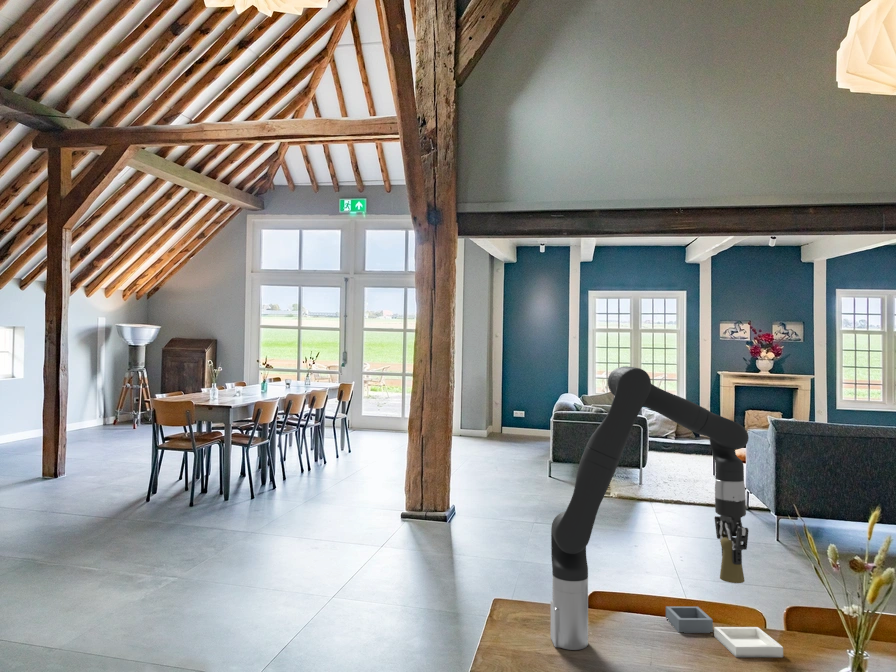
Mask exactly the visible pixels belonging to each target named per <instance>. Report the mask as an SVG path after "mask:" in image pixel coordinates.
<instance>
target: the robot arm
mask: <svg viewBox="0 0 896 672" xmlns="http://www.w3.org/2000/svg"><path fill="white" fill-rule="evenodd" d="M607 386H608V389H609V392H610V393H611V394H612V395H613V396H614V397H613V400H612V403H611V406H610V409H609V410H608V413H607V415H606V416H605V417H604V419H603V420H602V421H601V423H600V424H599V425H598V426H597V428H596V429H595V431H594V432H593V433H592V434H591V436H590V437H589V439H588V441H587V443H586V445H585V447H584V450H583V453H582V456H581V458H580V461H579V465H578V467H577V472H576V478H575V483H574V487H573V488H574V489H573V493H572V495H571V499H570V502H569V503H568V506H567V508H566V509H565V511H563V512H560V513H558V514H557V515H555V517H554V519H553V520H552V523H551V529H550V530H551V531H550V532H551V533H550V534H551V535H550V536H551V537H550V538H551V539H550V541H551V545H550V546H551V548H550V549H551V551H550V552H551V553H550V554H551V567H552V577H551V579H552V585H551V586H552V587H551V588H552V598H551V599H552V600H551V601H550V639H551V641H552V644H553V646H554V647H555V648H560V649H563V650H568V651H569V650H570V651H578V650H583V649H586V648H587V646H589V566H588V559H587V546H588V544H589V542H590V539H591V536H592V532H593V527H594V525H595V522H596V521H595V520H596V518H597V515H598V511H599V508H600V506H601V503H602V501H603V499H604V497H605V496H606V493H607V490H608V489H609V488H610V487H609V486H610V484H611V482H612V479H613V478H614V475H615V473H616V470H617V468H618V465H619V462H620V460H621V458H622V455H623V453H624V449H625V447H626V444H627V442H628V439H629V437H630V434H631V432H632V429H633V426H634V424H635V422H636V421H637V420H636V419H638V416H639V414H640V412H641V411H642V408H643V407H645V408H648V409H650V410H651V411H654V412H656V413H658V414H659V415H662V416H663V417H666V418H667V419H669V420H670V421H672V422H674V423H676V424H678V425H680V426H681V427H683V428H685V429H688V430H689V431H691V432H693V433H695V434H698V435H700V436H704V437H708V438H709V444H710V448H711V451H712V457H713V459H714V463H715V464H714V465H715V468H714V471H715V473H714V474H715V482H714V510H715V511H714V512H715V513H716V514H717V515H719V516H717V515H716V516H714V524H715V532H716V539H717V540H719V542H720V543H721V539H722V538H723V537H728V539H729V541H731V544H732V549H733V550H732V563H733V564H735V565H741V564H742V565H743V555H742V554H743V553H742V551H744V550H747V549H748V540H749V528H748V527H744V526H743V523H742V518H743V517H745V516H746V514H747V507H746V505H747V501H746V497H747V496H746V486H745V471H744V470H745V468H744V462H743V460H742V459H740V458H739V457H738V456H737V452H736V450H740V449H743V448H744V447H746V446H747V444H748V442H749V438H750V437H749V433H748V431H747V429H746V428H745V426H743V425H741V424H740V423H738V422H736V421H734V420H731V419H730V418H726V417H724V416H721V415H719V414H717V413H713V412H711V411H710V410H709V409H707V408H705V407H702V406H701V405H698V404H697V403H695V402H692V401H691V400H688V399H687V398H685V397H684V398H683V397H681V396H679V395H676V394H673V393H671V392H669V391H666V390H664V389H662V388H660V387H658V386H656V385H654V384H653V383H652V380H651V377H650V375H649V374H648V372H647V371H646V370H644V369H642V368H640V367H635V366H627V365H626V366H619V367H616V368H615V369H613V370H612V371H611V372H610V374H609V375H608V377H607ZM735 541H736V545H735ZM722 554H723V548H722V547H721V555H722Z"/></svg>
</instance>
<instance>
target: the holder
mask: <svg viewBox="0 0 896 672" xmlns="http://www.w3.org/2000/svg"><path fill="white" fill-rule="evenodd" d="M666 618H668V620H669V622H670V623H671V624H672V625H673V626H674V627H675V628H674V627H673V626H672V625H671V624H670V623H669V622H668V623H669V624H670V625H671V626H672V627H673V628H674V629H675V630H676V631H677V633H679V632H684V633H683V634H693V633H694V634H698V633H699V634H702V633H703V634H711V633H710V632H713V633H714V622H713V621H714V620H713V618H712V617H710V616H709V615H708V614H707V613H706V612H705V611H704V610H703V609H702V608H700V607H699V606H679V605H678V606H677V605H676V606H674V605H673V606H671V605H670V606H667V605H666V606H665V619H666Z"/></svg>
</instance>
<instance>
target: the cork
mask: <svg viewBox="0 0 896 672" xmlns="http://www.w3.org/2000/svg"><path fill="white" fill-rule="evenodd" d="M735 545H736V541H735ZM720 546H721V547H720V548H721V549H722V548H723V554H722V553H721V563H720V574H719V579H720V580H721V581H723V582H725V583H731V584H743V583H745V576H744V569H743V568H744V567H743V563H742V564H741V565H735V564H733V563H732V550H733V549H732V544H731V541H729V539H728V537H723V538H722V539H721V542H720Z"/></svg>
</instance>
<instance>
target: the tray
mask: <svg viewBox="0 0 896 672" xmlns="http://www.w3.org/2000/svg"><path fill="white" fill-rule="evenodd" d="M713 637H714V638H715V639H716V640H717V641H718V642H719V643H720V644H721V645H722V646H723V647H724V648H725V649H726V650H728V652H730V653H731V654H732V655H733V656H734V657H735V658H784V647H783V646H782V645H781V644H780V643H779V642H778V641H776V640H775V639H774V638H772V637H771V636H770V635H769V634H767V633H766V632H765V631H763V630H762V629H761V628H760V627H758V626H713Z"/></svg>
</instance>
